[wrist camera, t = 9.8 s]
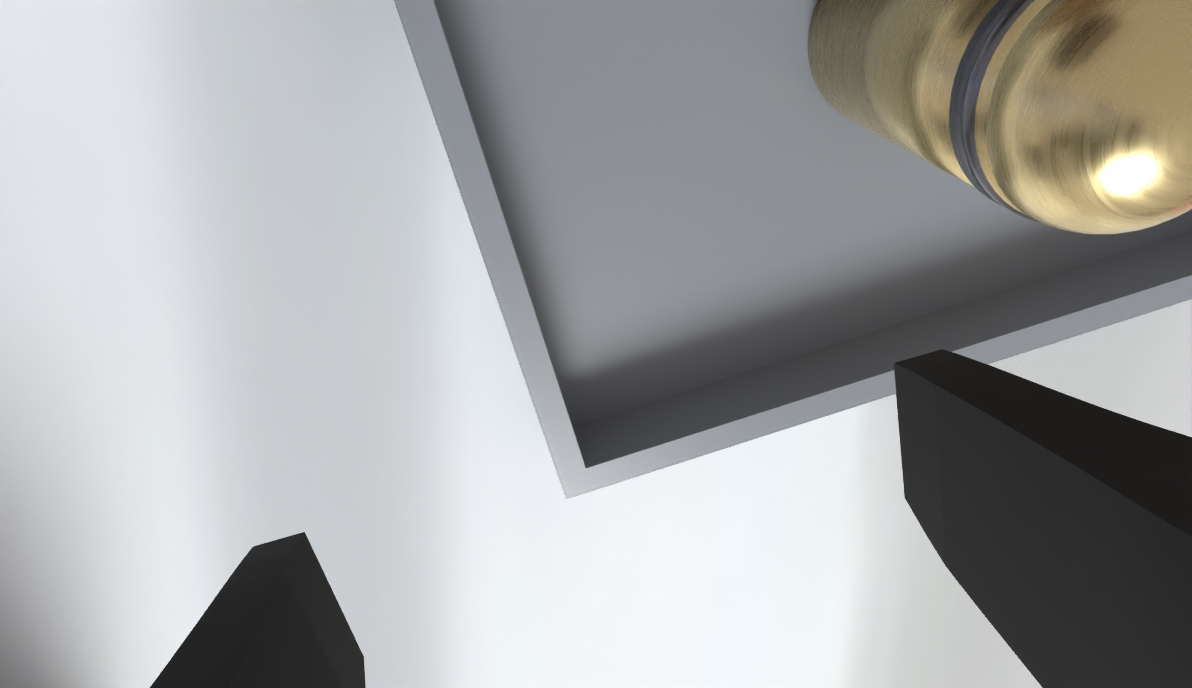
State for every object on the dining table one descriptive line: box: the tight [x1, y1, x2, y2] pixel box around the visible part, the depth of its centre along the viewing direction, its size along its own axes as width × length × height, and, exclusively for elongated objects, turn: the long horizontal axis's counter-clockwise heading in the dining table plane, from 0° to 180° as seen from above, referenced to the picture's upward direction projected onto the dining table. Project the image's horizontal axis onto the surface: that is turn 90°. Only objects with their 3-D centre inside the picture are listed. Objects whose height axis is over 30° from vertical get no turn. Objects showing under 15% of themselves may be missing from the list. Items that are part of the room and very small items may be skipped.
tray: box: [394, 0, 1192, 499], centre depth 18 cm, size 18×14×2 cm
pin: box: [808, 0, 1192, 234], centre depth 15 cm, size 4×4×8 cm
